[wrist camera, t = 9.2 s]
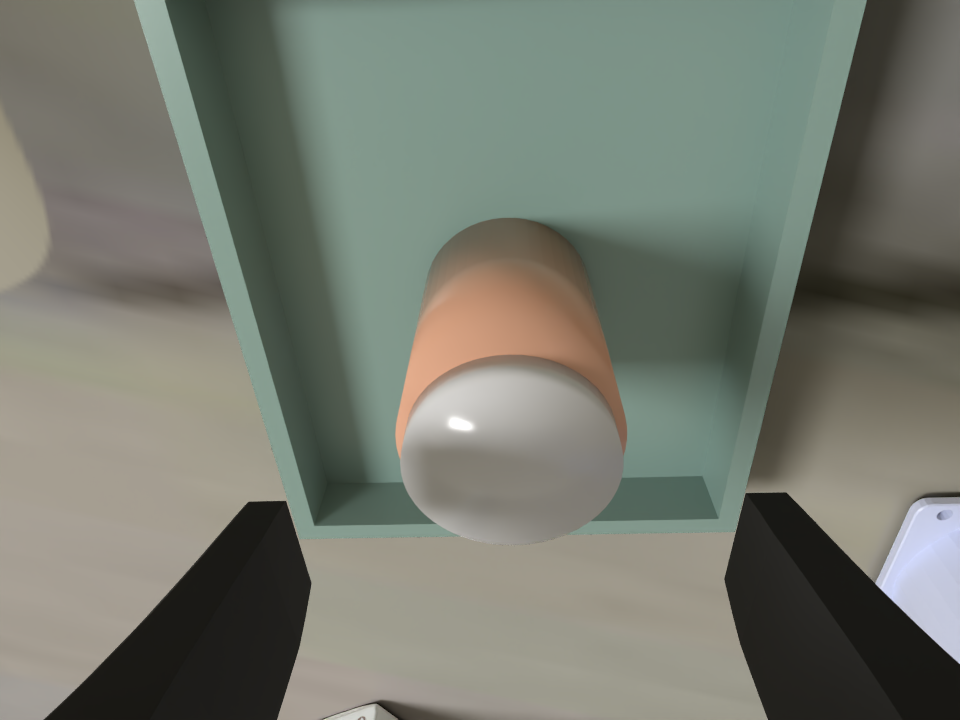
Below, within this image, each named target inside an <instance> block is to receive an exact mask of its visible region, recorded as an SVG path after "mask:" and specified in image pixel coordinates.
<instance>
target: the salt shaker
mask: <svg viewBox="0 0 960 720" xmlns="http://www.w3.org/2000/svg"><path fill="white" fill-rule="evenodd" d="M395 437H396V447H397V451H398V454H399V458H400V467H401V475H402V479H403V483H404V486H405V488H406V490H407V492H408V494H409V496H410V497H411V499H412V500H413V502H414V503H415V505H416V506H417V507H418V508H419V509H420V510H421V511H422V512H423V513H424V514H425V515H426V516H427V517H428V518H429V519H431V520H432V521H433V522H435V523H436V524H438V525H439V526H441V527H442V528H444V529H446V530H448V531H450V532H452V533H454V534H457V535H459V536H462V537H464V538H468V539H471V540H474V541H479V542H484V543H489V544H498V545H525V544H533V543H540V542H544V541H548V540H552V539H556V538H558V537H561V536H564V535H567V534H569V533H571V532H573V531H575V530H577V529H579V528H581V527H582V526H584V525H585V524H587V523H589V522H590V521H591V520H592V519H594V518H595V517H596V516H598V515H599V514H600V513H601V512H602V511H603V510H604V509H605V508H606V506H607V505H608V504H609V502H610V501H611V500H612V498H613V497H614V495H615V493H616V491H617V489H618V487H619V484H620V481H621V479H622V473H623V467H624V466H623V455H624V452H625V449H626V443H627V424H626V418H625V413H624V410H623V406H622V402H621V398H620V394H619V391H618V387H617V383H616V379H615V375H614V371H613V368H612V364H611V360H610V356H609V352H608V349H607V345H606V341H605V337H604V333H603V330H602V326H601V322H600V318H599V314H598V310H597V307H596V303H595V299H594V295H593V291H592V288H591V284H590V280H589V276H588V273H587V270H586V267H585V264H584V262H583V260H582V258H581V256H580V255H579V253H578V252H577V250H576V249H575V248H574V246H573V245H572V244H571V243H570V242H569V241H568V240H567V239H566V238H564V237H563V236H562V235H561V234H559V233H558V232H556V231H555V230H553V229H551V228H549V227H548V226H545V225H543V224H540V223H538V222H534V221H530V220H527V219H520V218H497V219H491V220H486V221H482V222H479V223H477V224H474V225H471V226H469V227H467V228H466V229H464V230H462V231H460V232H459V233H457V234H456V235H455V236H453V237H452V238H451V239H450V240H449V241H448V242H447V243H446V244H444V246H443V247H442V248H441V249H440V251H439V252H438V253H437V255H436V256H435V258H434V260H433V262H432V264H431V266H430V269H429V271H428V275H427V279H426V284H425V289H424V293H423V298H422V303H421V308H420V312H419V317H418V322H417V327H416V331H415V336H414V341H413V346H412V350H411V355H410V360H409V365H408V369H407V374H406V379H405V384H404V388H403V393H402V398H401V403H400V407H399V412H398V417H397V422H396V432H395Z"/></svg>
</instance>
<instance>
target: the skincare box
mask: <svg viewBox="0 0 960 720" xmlns="http://www.w3.org/2000/svg"><path fill="white" fill-rule="evenodd" d="M323 720H398V719H397V718H396V717H394V716H393V715H392V714H390V713H389V712H388V711H386V710H385V709H383V708H382V707H381V706H379V705H378V704H370V705H365V706H362V707H358V708H355V709H352V710H349V711H346V712H343V713H340V714H337V715H334V716H331V717H329V718H326V719H323Z"/></svg>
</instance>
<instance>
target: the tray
mask: <svg viewBox="0 0 960 720" xmlns="http://www.w3.org/2000/svg"><path fill="white" fill-rule="evenodd" d="M134 2H135V6H136V9H137V12H138V15H139V19H140V22H141V25H142V28H143V32H144V35H145V38H146V41H147V45H148V48H149V51H150V54H151V58H152V61H153V64H154V67H155V70H156V74H157V77H158V80H159V83H160V87H161V90H162V93H163V96H164V100H165V103H166V106H167V109H168V113H169V116H170V119H171V122H172V126H173V129H174V132H175V135H176V139H177V142H178V145H179V148H180V152H181V155H182V158H183V161H184V165H185V168H186V171H187V174H188V178H189V181H190V184H191V187H192V191H193V194H194V197H195V200H196V204H197V207H198V210H199V213H200V217H201V220H202V223H203V226H204V230H205V233H206V236H207V239H208V242H209V246H210V249H211V252H212V255H213V259H214V262H215V265H216V268H217V272H218V275H219V278H220V281H221V285H222V288H223V291H224V294H225V298H226V301H227V304H228V307H229V311H230V314H231V317H232V320H233V324H234V327H235V330H236V333H237V337H238V340H239V343H240V346H241V350H242V353H243V356H244V359H245V363H246V366H247V369H248V372H249V376H250V379H251V382H252V385H253V389H254V392H255V395H256V398H257V402H258V405H259V408H260V411H261V414H262V418H263V421H264V424H265V427H266V431H267V434H268V437H269V440H270V444H271V447H272V450H273V453H274V457H275V460H276V463H277V466H278V470H279V473H280V476H281V479H282V483H283V486H284V489H285V492H286V496H287V499H288V502H289V505H290V509H291V512H292V515H293V518H294V522H295V525H296V528H297V531H298V535H299V538H300V539H327V538H389V537H451V536H459V535H457V534H454V533H452V532H450V531H448V530H446V529H444V528H442V527H441V526H439V525H438V524H436V523H435V522H433V521H432V520H431V519H429V518H428V517H427V516H426V515H425V514H424V513H423V512H422V511H421V510H420V509H419V508H418V507H417V506H416V505H415V503H414V502H413V500H412V499H411V497H410V496H409V494H408V492H407V490H406V488H405V486H404V483H403V479H402V475H401V467H400V458H399V454H398V451H397V447H396V437H395V432H396V422H397V417H398V412H399V407H400V403H401V398H402V393H403V388H404V384H405V379H406V374H407V369H408V365H409V360H410V355H411V350H412V346H413V341H414V336H415V331H416V327H417V322H418V317H419V312H420V308H421V303H422V298H423V293H424V289H425V284H426V279H427V275H428V271H429V269H430V266H431V264H432V262H433V260H434V258H435V256H436V255H437V253H438V252H439V251H440V249H441V248H442V247H443V246H444V244H446V243H447V242H448V241H449V240H450V239H451V238H452V237H453V236H455V235H456V234H457V233H459V232H460V231H462V230H464V229H466V228H467V227H469V226H471V225H474V224H477V223H479V222H482V221H486V220H491V219H497V218H520V219H527V220H530V221H534V222H538V223H540V224H543V225H545V226H548V227H549V228H551V229H553V230H555V231H556V232H558V233H559V234H561V235H562V236H563V237H564V238H566V239H567V240H568V241H569V242H570V243H571V244H572V245H573V246H574V248H575V249H576V250H577V252H578V253H579V255H580V256H581V258H582V260H583V262H584V264H585V267H586V270H587V273H588V276H589V280H590V284H591V288H592V291H593V295H594V299H595V303H596V307H597V310H598V314H599V318H600V322H601V326H602V330H603V333H604V337H605V341H606V345H607V349H608V352H609V356H610V360H611V364H612V368H613V371H614V375H615V379H616V383H617V387H618V391H619V394H620V398H621V402H622V406H623V410H624V413H625V418H626V424H627V443H626V449H625V452H624V455H623V466H624V467H623V473H622V479H621V481H620V484H619V487H618V489H617V491H616V493H615V495H614V497H613V498H612V500H611V501H610V502H609V504H608V505H607V506H606V508H605V509H604V510H603V511H602V512H601V513H600V514H599V515H598V516H596V517H595V518H594V519H592V520H591V521H590V522H589V523H587V524H585V525H584V526H582V527H581V528H579V529H577V530H575V531H573V532H571V533H569V534H567V535H575V534H637V533H699V532H735V530H736V526H737V522H738V518H739V514H740V510H741V506H742V502H743V498H744V494H745V490H746V486H747V482H748V478H749V474H750V470H751V466H752V462H753V458H754V454H755V450H756V446H757V441H758V437H759V433H760V429H761V425H762V421H763V417H764V413H765V409H766V405H767V401H768V397H769V393H770V389H771V385H772V381H773V377H774V373H775V369H776V365H777V361H778V357H779V353H780V349H781V345H782V341H783V337H784V333H785V328H786V324H787V320H788V316H789V312H790V308H791V304H792V300H793V296H794V292H795V288H796V284H797V280H798V276H799V272H800V268H801V264H802V260H803V256H804V252H805V248H806V244H807V240H808V236H809V232H810V228H811V224H812V220H813V216H814V211H815V207H816V203H817V199H818V195H819V191H820V187H821V183H822V179H823V175H824V171H825V167H826V163H827V159H828V155H829V151H830V147H831V143H832V139H833V135H834V131H835V127H836V123H837V119H838V115H839V111H840V107H841V103H842V98H843V94H844V90H845V86H846V82H847V78H848V74H849V70H850V66H851V62H852V58H853V54H854V50H855V46H856V42H857V38H858V34H859V30H860V26H861V22H862V18H863V14H864V10H865V6H866V2H867V0H134Z"/></svg>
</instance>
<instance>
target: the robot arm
mask: <svg viewBox="0 0 960 720" xmlns="http://www.w3.org/2000/svg"><path fill="white" fill-rule="evenodd" d="M724 580H725V584H726V588H727V592H728V597H729V601H730V605H731V609H732V614H733V618H734V622H735V625H736V629H737V633H738V637H739V641H740V645H741V647H742V650H743V653H744V656H745V659H746V661H747V664H748V667H749V670H750V672H751V675H752V678H753V680H754V683H755V686H756V689H757V691H758V694H759V697H760V699H761V702H762V705H763V707H764V710H765V713H766V715H767V718H768V720H960V497H938V498H923V499H920V500H917V501H916V502H915V503H913V504H912V506H911V507H910V509H909V511H908V513H907V515H906V518H905V520H904V522H903V524H902V526H901V529H900V531H899V533H898V535H897V537H896V540H895V542H894V544H893V546H892V548H891V551H890V553H889V555H888V557H887V559H886V562H885V564H884V566H883V568H882V570H881V572H880V575H879V577H878V579H877V581H876V583H874V582H873V581H872V580H871V579H870V578H869V577H868V576H867V575H866V574H865V573H864V572H863V571H862V570H861V569H860V568H859V567H858V566H857V565H856V564H855V563H854V562H853V561H852V560H851V559H850V558H849V557H848V556H847V555H846V554H845V553H844V551H843V550H842V549H841V548H840V547H839V546H838V545H837V544H836V543H835V542H834V541H833V540H832V539H831V538H830V537H829V536H828V535H827V534H826V533H825V532H824V531H823V530H822V529H821V528H820V527H819V526H818V525H817V523H816V522H815V521H814V520H813V519H812V518H811V517H810V516H809V515H808V514H807V513H806V512H805V511H804V510H803V509H802V508H801V507H800V506H799V505H798V504H797V503H796V502H795V501H794V500H793V499H792V498H791V497H790V496H789V495H788V494H787V493H746V494H745V498H744V502H743V506H742V510H741V514H740V518H739V522H738V526H737V530H736V534H735V538H734V542H733V546H732V551H731V555H730V559H729V563H728V567H727V571H726V575H725V579H724ZM310 589H311V580H310V577H309V574H308V571H307V567H306V564H305V561H304V558H303V554H302V551H301V548H300V545H299V542H298V538H297V535H296V532H295V529H294V525H293V522H292V519H291V516H290V512H289V509H288V506H287V503H286V501H263V502H248V503H247V504H246V505H245V506H244V507H243V508H242V509H241V511H240V512H239V513H238V514H237V515H236V516H235V517H234V518H233V520H232V521H231V522H230V523H229V524H228V525H227V527H226V528H225V529H224V530H223V531H222V532H221V533H220V535H219V536H218V537H217V538H216V539H215V540H214V542H213V543H212V544H211V545H210V546H209V547H208V549H207V550H206V551H205V552H204V553H203V554H202V555H201V557H200V558H199V559H198V560H197V561H196V562H195V563H194V565H193V566H192V567H191V568H190V569H189V570H188V571H187V573H186V574H185V575H184V576H183V577H182V578H181V579H180V581H179V582H178V583H177V584H176V585H175V586H174V587H173V588H172V589H171V590H170V592H169V593H168V594H167V595H166V596H165V597H164V598H163V599H162V600H161V601H160V603H159V604H158V605H157V606H156V607H155V608H154V609H153V610H152V611H151V612H150V614H149V615H148V616H147V617H146V618H145V619H144V620H143V621H142V622H141V623H140V624H139V625H138V627H137V628H136V629H135V630H134V631H133V632H132V633H131V634H130V635H129V636H128V637H127V638H126V639H125V640H124V641H123V642H122V643H121V644H120V645H119V646H118V647H117V648H116V649H115V650H114V651H113V652H112V653H111V654H110V655H109V656H108V657H107V658H106V659H105V660H104V662H103V663H102V664H101V665H100V666H99V667H98V668H97V669H96V670H95V671H94V672H93V673H92V674H91V675H90V676H89V677H88V678H87V679H86V680H85V681H84V682H83V683H82V684H81V685H80V686H79V687H78V688H77V689H76V690H75V691H74V692H72V693H71V694H70V695H69V696H68V697H67V698H66V699H65V700H64V701H63V702H62V703H61V704H60V705H59V706H58V707H57V708H56V709H55V710H54V711H53V712H51V713H50V714H49V715H48V716H47V717H46V718H45V719H44V720H277V718H278V714H279V711H280V708H281V705H282V702H283V699H284V695H285V692H286V689H287V686H288V683H289V679H290V676H291V673H292V670H293V666H294V663H295V660H296V656H297V653H298V650H299V646H300V641H301V637H302V632H303V627H304V622H305V617H306V611H307V606H308V600H309V594H310Z"/></svg>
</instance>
